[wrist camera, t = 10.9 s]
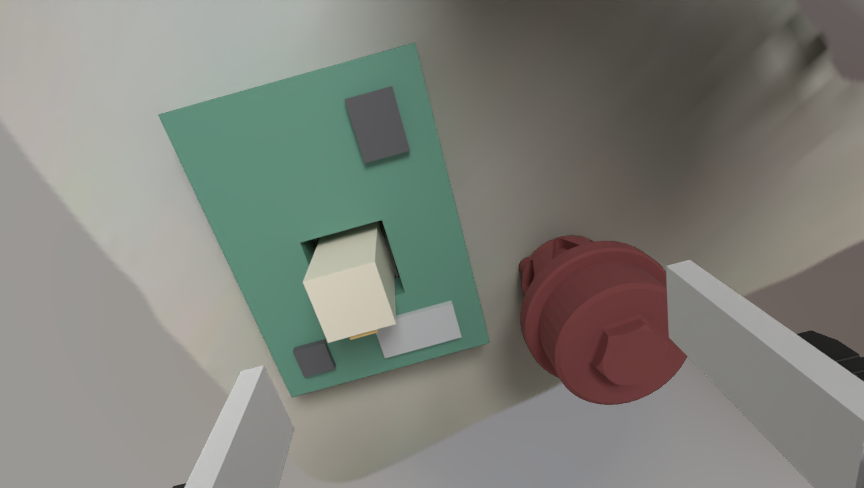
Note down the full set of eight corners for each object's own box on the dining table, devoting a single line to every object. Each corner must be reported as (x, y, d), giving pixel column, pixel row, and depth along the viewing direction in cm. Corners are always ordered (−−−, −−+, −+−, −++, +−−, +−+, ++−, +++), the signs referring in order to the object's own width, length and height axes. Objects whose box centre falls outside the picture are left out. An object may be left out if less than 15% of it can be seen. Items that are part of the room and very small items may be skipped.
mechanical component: (471, 277, 37) (561, 183, 34) (554, 343, 40) (641, 260, 37) (510, 372, 25) (648, 241, 23) (623, 455, 28) (754, 345, 26)
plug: (321, 235, 34) (302, 281, 27) (377, 219, 34) (374, 261, 27) (342, 290, 36) (330, 348, 29) (395, 275, 36) (397, 329, 28)
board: (179, 110, 30) (153, 115, 27) (412, 44, 30) (415, 41, 27) (298, 373, 38) (290, 402, 35) (482, 322, 38) (491, 347, 35)
